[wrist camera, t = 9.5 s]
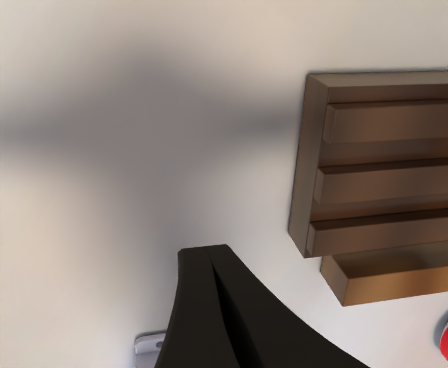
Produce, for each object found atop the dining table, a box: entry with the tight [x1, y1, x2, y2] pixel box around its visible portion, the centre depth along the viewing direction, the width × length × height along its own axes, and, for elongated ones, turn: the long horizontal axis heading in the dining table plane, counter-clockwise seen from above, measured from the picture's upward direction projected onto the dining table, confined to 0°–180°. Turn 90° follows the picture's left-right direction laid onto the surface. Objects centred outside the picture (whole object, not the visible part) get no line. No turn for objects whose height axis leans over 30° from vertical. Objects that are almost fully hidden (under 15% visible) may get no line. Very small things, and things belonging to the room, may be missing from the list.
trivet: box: [288, 71, 448, 258], centre depth 21 cm, size 9×9×3 cm
